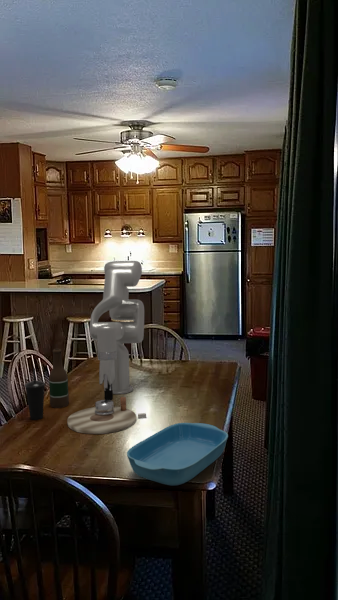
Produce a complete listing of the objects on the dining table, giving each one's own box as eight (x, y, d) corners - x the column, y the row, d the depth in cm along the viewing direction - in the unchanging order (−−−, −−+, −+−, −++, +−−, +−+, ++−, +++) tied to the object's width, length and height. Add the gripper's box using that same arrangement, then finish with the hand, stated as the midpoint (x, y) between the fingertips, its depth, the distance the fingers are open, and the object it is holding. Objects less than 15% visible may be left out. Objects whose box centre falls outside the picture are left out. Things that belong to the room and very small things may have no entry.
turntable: (53, 422, 199) (52, 406, 198) (106, 405, 218) (105, 390, 217) (96, 439, 181) (95, 421, 180) (150, 419, 200) (149, 403, 199)
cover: (91, 412, 205) (90, 402, 204) (105, 408, 210) (105, 397, 210) (103, 417, 199) (103, 406, 199) (118, 412, 205) (118, 401, 204)
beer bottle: (72, 403, 222) (70, 348, 219) (61, 409, 215) (58, 352, 212) (57, 401, 225) (55, 346, 222) (46, 406, 218) (43, 350, 215)
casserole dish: (177, 499, 140) (177, 474, 139) (113, 479, 152) (112, 456, 151) (239, 450, 170) (238, 429, 169) (181, 437, 183) (180, 417, 182)
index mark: (138, 418, 202) (138, 414, 201) (138, 417, 203) (137, 413, 203) (146, 417, 202) (146, 414, 202) (145, 416, 204) (145, 412, 203)
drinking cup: (29, 422, 200) (26, 371, 197) (24, 416, 207) (21, 367, 204) (48, 419, 203) (46, 368, 201) (44, 413, 210) (41, 364, 208)
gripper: (101, 352, 219) (103, 394, 221) (94, 359, 204) (95, 405, 206) (119, 351, 218) (120, 394, 220) (113, 359, 204) (114, 405, 205)
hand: (108, 399), depth 213 cm, fingers closed
